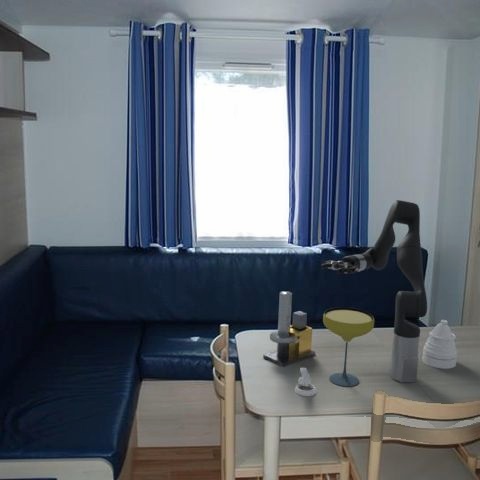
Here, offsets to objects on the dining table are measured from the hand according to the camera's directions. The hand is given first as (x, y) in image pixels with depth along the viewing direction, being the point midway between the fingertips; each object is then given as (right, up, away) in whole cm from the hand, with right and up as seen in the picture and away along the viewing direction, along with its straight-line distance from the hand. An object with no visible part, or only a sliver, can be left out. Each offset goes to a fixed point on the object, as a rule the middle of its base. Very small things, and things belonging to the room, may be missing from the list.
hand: (329, 269), depth 225 cm
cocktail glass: (+1, -40, -24) cm, 46 cm away
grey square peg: (-13, -33, -1) cm, 36 cm away
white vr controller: (-14, -41, -33) cm, 55 cm away
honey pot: (+43, -37, -5) cm, 57 cm away
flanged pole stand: (-17, -35, -4) cm, 39 cm away
